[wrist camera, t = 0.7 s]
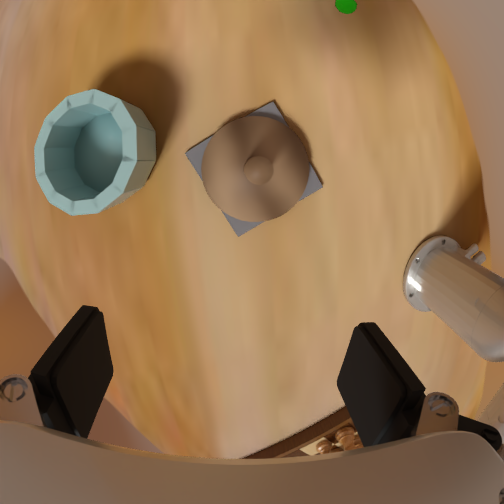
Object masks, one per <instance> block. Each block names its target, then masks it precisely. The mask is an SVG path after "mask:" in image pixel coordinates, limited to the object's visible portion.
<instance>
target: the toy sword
mask: <svg viewBox="0 0 504 504" xmlns="http://www.w3.org/2000/svg"><path fill="white" fill-rule="evenodd" d="M335 6H336V7H337V9H338V10H339V12H342V13H345V14H350V13H353V12H354V11H355V10H356V8H357V3H356V2H355V1H354V0H336V2H335Z"/></svg>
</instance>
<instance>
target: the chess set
mask: <svg viewBox="0 0 504 504" xmlns="http://www.w3.org/2000/svg"><path fill="white" fill-rule="evenodd" d="M359 448H364V447H363V444H362V442H361V440H360V437H359V435H358V433H357V430H356V428H355V426H354V423H353V421H352V419H351V416H350V414H349V412H348V410H347V407H346V406H345V407H344V408H342V409H341V410H339V411H337V412H336V413H334V414H332V415H331V416H329V417H327V418H325V419H324V420H322V421H320V422H318V423H316V424H315V425H313V426H311V427H309V428H307V429H305V430H304V431H302V432H300V433H298V434H296V435H294V436H292V437H290V438H288V439H286V440H284V441H282V442H280V443H277V444H275V445H273V446H271V447H269V448H267V449H264V450H262V451H260V452H258V453H255V454H253V455H250V456H248V457H246V458H243V459H270V458H288V457H301V456H311V455H320V454H327V453H335V452H341V451H347V450H353V449H359Z"/></svg>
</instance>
